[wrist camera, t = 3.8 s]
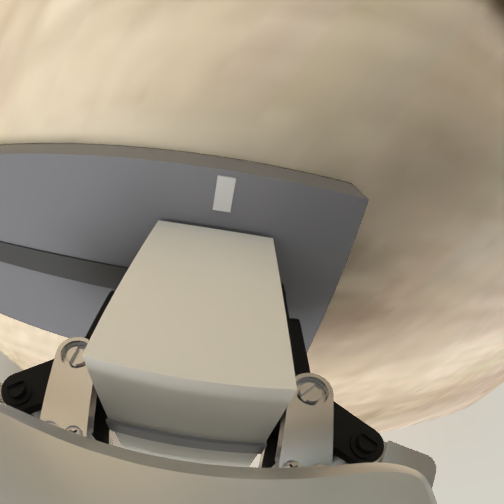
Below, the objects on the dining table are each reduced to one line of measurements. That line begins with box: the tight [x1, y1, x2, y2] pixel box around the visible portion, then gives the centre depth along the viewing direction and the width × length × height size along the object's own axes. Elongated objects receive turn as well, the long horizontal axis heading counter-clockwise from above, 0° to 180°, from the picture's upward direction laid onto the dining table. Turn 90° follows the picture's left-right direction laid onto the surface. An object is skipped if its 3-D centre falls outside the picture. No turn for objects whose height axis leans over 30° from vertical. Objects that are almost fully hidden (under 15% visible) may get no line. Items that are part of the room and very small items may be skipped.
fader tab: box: [82, 220, 297, 467], centre depth 9 cm, size 4×6×6 cm
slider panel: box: [0, 143, 368, 353], centre depth 12 cm, size 26×10×2 cm, turn 79°
